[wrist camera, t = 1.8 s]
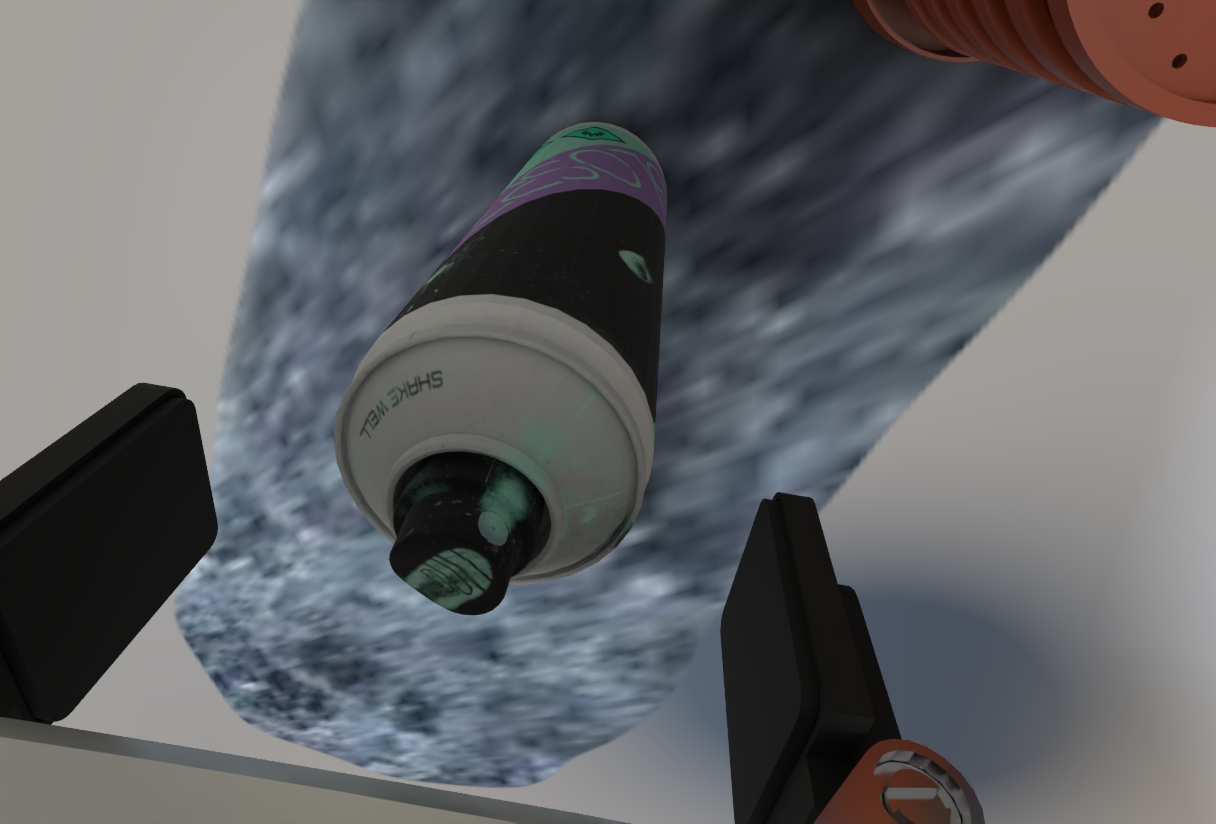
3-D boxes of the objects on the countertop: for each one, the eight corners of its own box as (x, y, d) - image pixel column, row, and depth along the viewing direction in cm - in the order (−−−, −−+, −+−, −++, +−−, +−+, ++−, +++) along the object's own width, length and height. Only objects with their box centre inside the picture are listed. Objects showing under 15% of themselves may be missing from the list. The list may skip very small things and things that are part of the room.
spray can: (685, 143, 25) (698, 475, 8) (646, 280, 28) (595, 734, 11) (539, 103, 25) (238, 360, 8) (515, 246, 28) (258, 658, 11)
